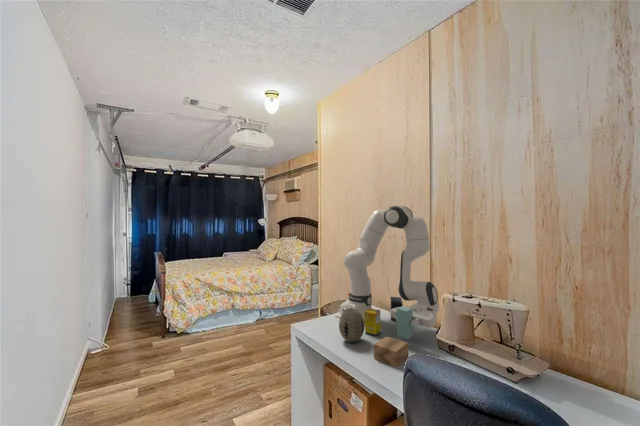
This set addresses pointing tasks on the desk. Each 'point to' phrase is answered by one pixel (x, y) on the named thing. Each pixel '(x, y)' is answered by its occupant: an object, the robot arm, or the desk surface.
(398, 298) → the small box
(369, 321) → the supplement box
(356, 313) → the decorative egg
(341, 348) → the desk surface
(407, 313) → the teal block
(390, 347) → the walnut block
